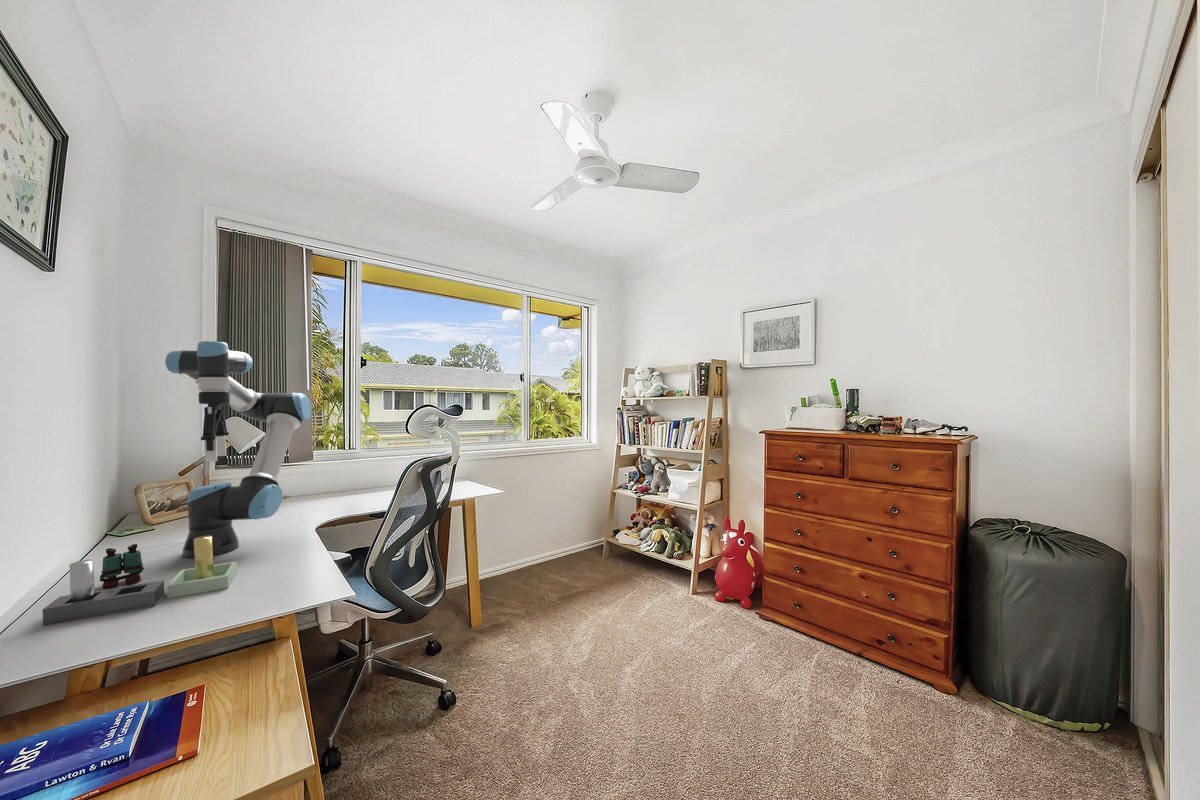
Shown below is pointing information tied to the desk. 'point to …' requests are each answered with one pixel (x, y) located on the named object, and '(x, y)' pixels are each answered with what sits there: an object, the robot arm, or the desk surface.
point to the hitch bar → (104, 603)
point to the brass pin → (203, 557)
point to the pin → (82, 580)
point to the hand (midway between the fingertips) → (216, 458)
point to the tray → (202, 580)
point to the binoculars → (121, 567)
